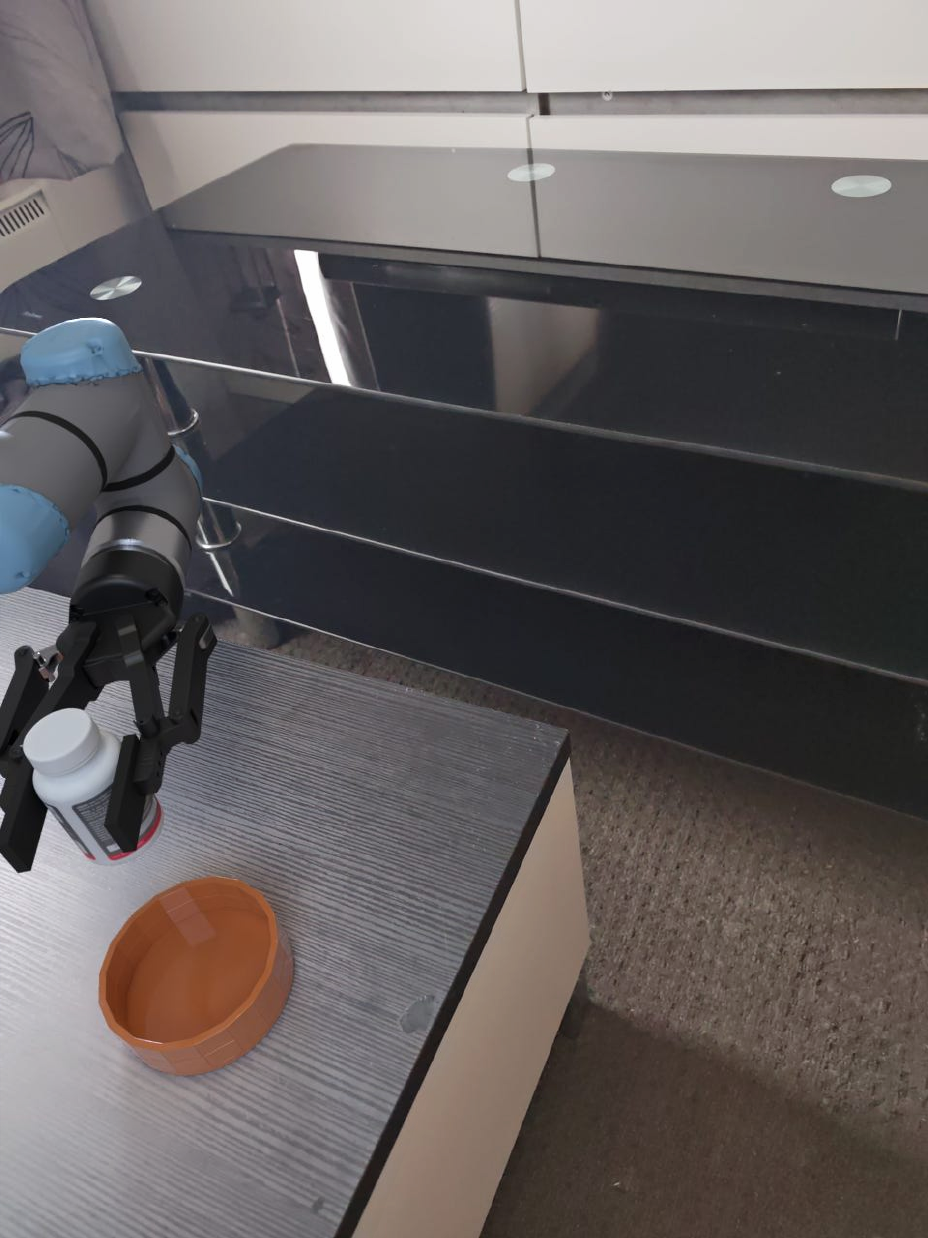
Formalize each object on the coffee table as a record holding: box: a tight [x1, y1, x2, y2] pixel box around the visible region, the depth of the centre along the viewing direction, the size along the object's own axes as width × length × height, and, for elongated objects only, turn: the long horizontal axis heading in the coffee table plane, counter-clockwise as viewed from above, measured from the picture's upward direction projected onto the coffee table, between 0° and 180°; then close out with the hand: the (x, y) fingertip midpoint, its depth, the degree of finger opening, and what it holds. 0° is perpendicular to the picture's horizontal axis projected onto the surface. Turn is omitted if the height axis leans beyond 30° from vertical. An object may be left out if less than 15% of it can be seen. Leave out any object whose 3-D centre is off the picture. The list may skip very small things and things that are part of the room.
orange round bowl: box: [97, 875, 295, 1077], centre depth 62 cm, size 12×12×4 cm
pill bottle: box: [23, 708, 165, 867], centre depth 55 cm, size 5×5×10 cm
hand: (66, 848), depth 51 cm, fingers closed on pill bottle, 5 cm apart
